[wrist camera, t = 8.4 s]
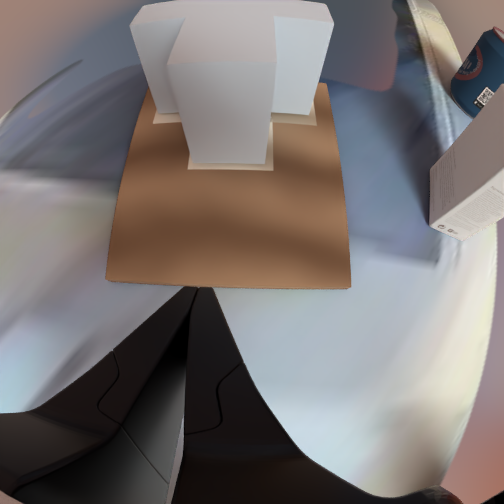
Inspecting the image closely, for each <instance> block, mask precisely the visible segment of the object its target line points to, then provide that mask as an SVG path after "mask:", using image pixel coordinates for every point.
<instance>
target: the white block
mask: <svg viewBox="0 0 504 504" xmlns="http://www.w3.org/2000/svg"><path fill="white" fill-rule="evenodd" d="M333 26H334V22H333V20H332V17H331V15H330V12H329V10H328V8H327V6H326V4H321V3H315V2H308V1H300V0H178V1H170V2H163V3H157V4H150V5H145V6H143V7H142V8H141V10H140V11H139V12H138V14H137V15H136V17H135V18H134V20H133V21H132V23H131V24H130V29H131V33H132V36H133V39H134V42H135V45H136V48H137V51H138V55H139V58H140V60H141V64H142V67H143V70H144V73H145V76H146V79H147V82H148V85H149V88H150V91H151V94H152V97H153V99H154V102H155V105H156V108H157V111H158V114H162V113H177V112H179V115H180V118H181V122H182V126H183V129H184V133H185V137H186V140H187V144H188V148H189V151H190V155H191V158H192V162H193V163H244V164H265V159H266V151H267V142H268V134H269V126H270V118H271V112H275V113H290V114H302V115H309V113H310V110H311V106H312V103H313V99H314V95H315V92H316V88H317V85H318V81H319V77H320V74H321V70H322V67H323V63H324V59H325V56H326V52H327V48H328V44H329V41H330V37H331V33H332V30H333Z"/></svg>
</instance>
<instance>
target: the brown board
mask: <svg viewBox="0 0 504 504" xmlns="http://www.w3.org/2000/svg"><path fill="white" fill-rule="evenodd" d="M105 279H106V280H108V281H111V282H121V283H137V284H154V285H173V286H195V287H222V288H258V289H348V288H350V287H351V269H350V252H349V238H348V226H347V215H346V205H345V196H344V187H343V179H342V171H341V164H340V157H339V150H338V144H337V138H336V132H335V126H334V120H333V115H332V109H331V104H330V99H329V94H328V90H327V85H326V84H325V83H318V85H317V88H316V92H315V95H314V99H313V103H312V106H311V110H310V113H309V115H302V114H290V113H275V112H271V118H270V126H269V134H268V142H267V151H266V159H265V164H244V163H193V162H192V158H191V155H190V151H189V148H188V144H187V140H186V137H185V133H184V129H183V126H182V122H181V118H180V115H179V112H177V113H162V114H158V111H157V108H156V105H155V102H154V99H153V97H152V94H151V91H150V88H149V87H148V90H147V93H146V96H145V98H144V101H143V104H142V108H141V111H140V114H139V117H138V120H137V123H136V127H135V130H134V134H133V137H132V141H131V144H130V148H129V152H128V156H127V160H126V164H125V168H124V172H123V176H122V180H121V185H120V190H119V194H118V199H117V204H116V209H115V215H114V220H113V226H112V232H111V239H110V245H109V252H108V260H107V268H106V277H105Z"/></svg>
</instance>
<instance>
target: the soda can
mask: <svg viewBox="0 0 504 504" xmlns="http://www.w3.org/2000/svg"><path fill="white" fill-rule="evenodd" d="M501 84H504V32H503V31H502V30H500V29H499V28H496V27H493V29H492V30H489V31H486V32H484V33H483V34H482V36H481V37H480V39H479V40H478V42H477V43H476V45H475V47H474V48H473V50H472V51H471V52H470V54H469V55H468V57H467V58H466V60H465V61H464V63H463V64H462V66H461V67H460V68H459V70H458V71H457V73H456V74H455V76H454V77H453V78H452V80H451V95H452V97H453V99H454V101H455V102H456V104H457V105H458V106H459V108H460V109H461V110H462V111H463V112H464V113H465V114H467V115H468V116H469V117H470V118H472V119H474V118H475V117H476V116H477V115H478V113H479V112H480V111H481V110H482V108H483V107H484V106H485V105H486V103H487V102H488V101H489V100H490V98H491V97H492V96H493V95H494V93H495V92H496V91H497V89H498V88H499V87H500V85H501Z"/></svg>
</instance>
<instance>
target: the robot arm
mask: <svg viewBox="0 0 504 504" xmlns="http://www.w3.org/2000/svg"><path fill="white" fill-rule="evenodd" d="M183 414H184V446H183V457H182V462H181V466H180V470H179V474H178V478H177V482H176V486H175V490H174V494H173V498H172V502H171V504H463V503H462V501H461V500H460V499H459V498H458V497H456V496H455V495H453V494H452V493H451V492H449V491H447V490H446V489H444V488H442V487H441V486H438V485H436V486H431V487H428V488H425V489H422V490H419V491H416V492H413V493H410V494H407V495H404V496H400V497H394V498H388V497H380V496H375V495H372V494H370V493H367V492H365V491H363V490H361V489H359V488H358V487H356V486H354V485H352V484H351V483H349V482H347V481H345V480H344V479H342V478H340V477H339V476H337V475H335V474H334V473H332V472H330V471H329V470H327V469H326V468H324V467H322V466H321V465H319V464H318V463H316V462H315V461H313V460H312V459H310V458H309V457H308V456H306V455H305V454H304V453H303V452H302V451H301V450H300V449H299V447H298V446H297V445H296V444H295V443H294V441H293V440H292V439H291V438H290V436H289V435H288V433H287V432H286V431H285V429H284V428H283V427H282V425H281V424H280V422H279V421H278V420H277V418H276V417H275V415H274V414H273V412H272V411H271V410H270V408H269V407H268V405H267V404H266V402H265V401H264V399H263V398H262V396H261V394H260V393H259V391H258V389H257V388H256V386H255V384H254V382H253V380H252V378H251V376H250V374H249V372H248V370H247V367H246V365H245V363H244V361H243V359H242V356H241V354H240V352H239V349H238V347H237V345H236V343H235V340H234V338H233V336H232V333H231V331H230V328H229V326H228V324H227V321H226V319H225V316H224V314H223V312H222V309H221V307H220V304H219V302H218V299H217V297H216V294H215V292H214V289H213V288H212V287H199V289H198V287H192V286H185V287H183V288H182V289H181V290H180V291H179V292H177V293H176V294H175V295H174V296H173V297H172V298H171V299H169V300H168V301H167V302H166V303H165V304H164V305H163V306H161V307H160V308H159V309H158V310H157V311H156V312H155V313H153V314H152V315H151V316H150V317H149V318H148V319H147V320H146V321H144V322H143V323H142V324H141V325H140V326H139V327H138V328H136V329H135V330H134V331H133V332H132V333H131V334H130V335H129V336H127V337H126V338H125V339H124V340H123V341H122V342H121V343H120V344H119V345H117V346H116V347H115V348H114V349H113V351H111V352H109V353H108V354H107V355H106V356H105V357H104V358H103V359H102V360H100V361H99V362H98V363H97V364H96V365H95V366H93V367H92V368H91V369H90V370H89V371H87V372H86V373H85V374H83V375H82V376H81V377H79V378H78V379H77V380H76V381H74V382H73V383H71V384H70V385H69V386H67V387H66V388H65V389H63V390H62V391H60V392H59V393H58V394H56V395H55V396H54V397H52V398H51V399H49V400H48V401H47V402H45V403H44V404H42V405H41V406H39V407H37V408H35V409H33V410H30V411H26V412H19V413H0V504H165V503H166V498H167V493H168V488H169V485H168V484H169V482H170V477H171V472H172V467H173V462H174V457H175V452H176V447H177V442H178V438H179V433H180V428H181V424H182V419H183ZM481 504H504V490H503V491H501V492H499V493H498V494H496V495H494V496H493V497H491V498H489V499H488V500H486V501H484V502H483V503H481Z"/></svg>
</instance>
